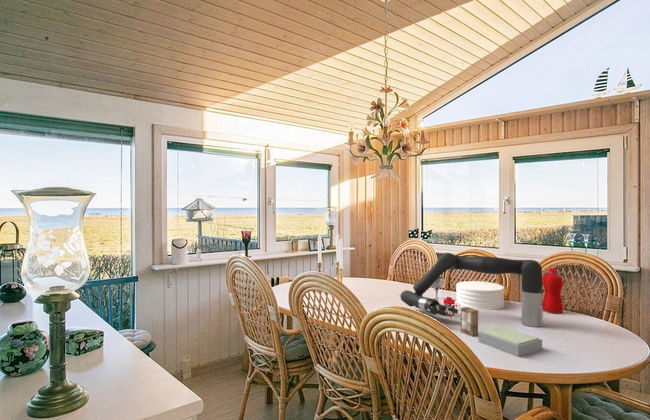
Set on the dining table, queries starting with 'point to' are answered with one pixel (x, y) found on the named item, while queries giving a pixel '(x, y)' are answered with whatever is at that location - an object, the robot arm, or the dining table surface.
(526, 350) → the display stand
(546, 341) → the dining table surface
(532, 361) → the dining table surface
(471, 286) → the plate stack
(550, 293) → the water bottle
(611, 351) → the dining table surface
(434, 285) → the wine glass
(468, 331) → the frame
